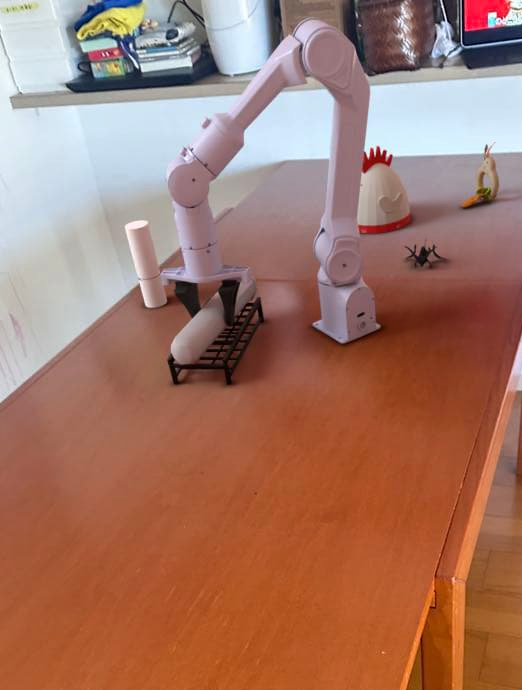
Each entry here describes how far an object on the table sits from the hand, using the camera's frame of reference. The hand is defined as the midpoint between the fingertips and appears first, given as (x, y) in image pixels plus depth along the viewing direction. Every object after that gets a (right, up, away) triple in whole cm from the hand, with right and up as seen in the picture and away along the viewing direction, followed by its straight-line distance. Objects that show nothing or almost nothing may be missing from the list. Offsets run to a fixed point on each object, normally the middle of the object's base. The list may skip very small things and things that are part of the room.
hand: (215, 324), depth 126 cm
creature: (+38, +17, +20) cm, 46 cm away
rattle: (+53, +38, +41) cm, 78 cm away
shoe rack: (+1, -4, +3) cm, 5 cm away
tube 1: (-14, +10, +22) cm, 27 cm away
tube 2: (0, -1, +1) cm, 2 cm away
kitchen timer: (+32, +33, +39) cm, 61 cm away
